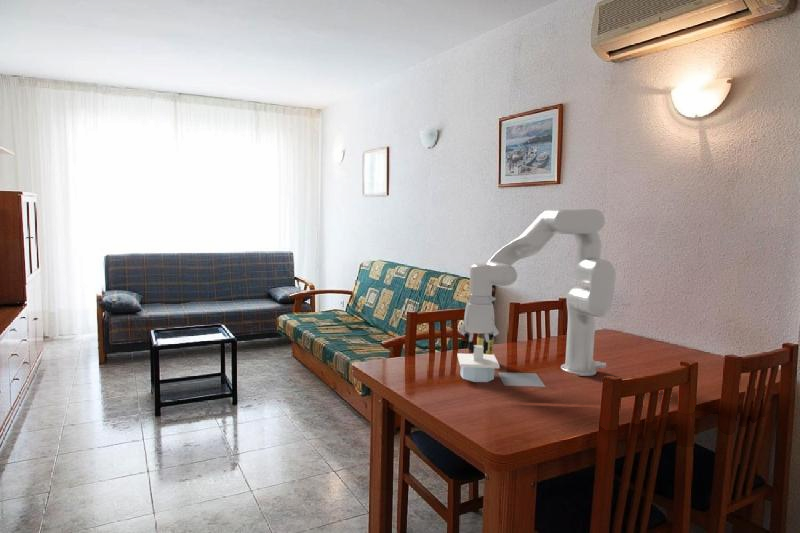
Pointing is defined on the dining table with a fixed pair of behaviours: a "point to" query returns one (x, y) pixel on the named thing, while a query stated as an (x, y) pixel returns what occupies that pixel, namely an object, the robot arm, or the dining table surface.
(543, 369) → the dining table surface
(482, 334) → the sauce bottle
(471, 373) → the bowl
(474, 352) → the lid
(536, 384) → the mat
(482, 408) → the dining table surface
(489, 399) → the dining table surface
